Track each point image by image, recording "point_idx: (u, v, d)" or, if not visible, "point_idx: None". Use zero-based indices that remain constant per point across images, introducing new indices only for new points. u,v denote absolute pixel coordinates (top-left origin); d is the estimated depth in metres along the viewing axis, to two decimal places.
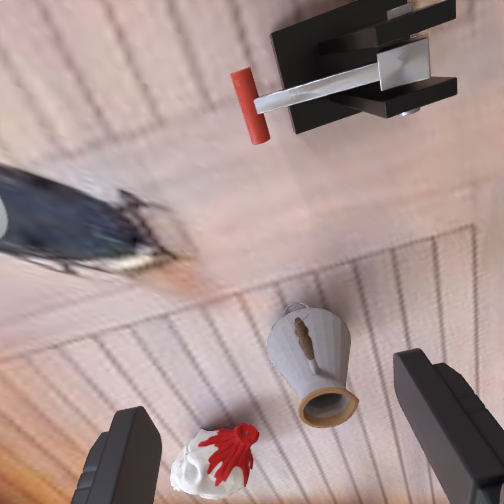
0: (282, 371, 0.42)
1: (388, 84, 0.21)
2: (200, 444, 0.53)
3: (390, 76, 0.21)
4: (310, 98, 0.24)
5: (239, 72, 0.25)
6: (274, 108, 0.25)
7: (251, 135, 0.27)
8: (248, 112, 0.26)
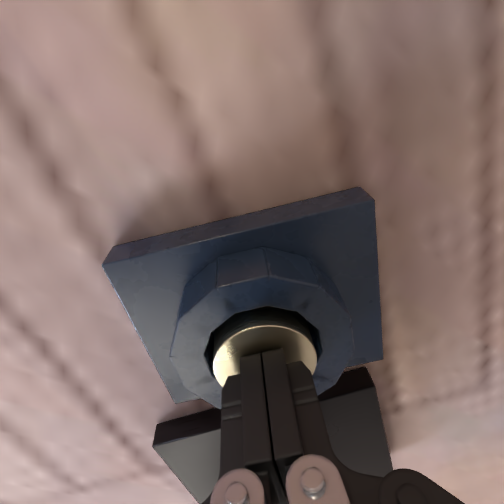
0: None
1: None
2: None
3: None
4: None
5: None
6: None
7: None
8: None
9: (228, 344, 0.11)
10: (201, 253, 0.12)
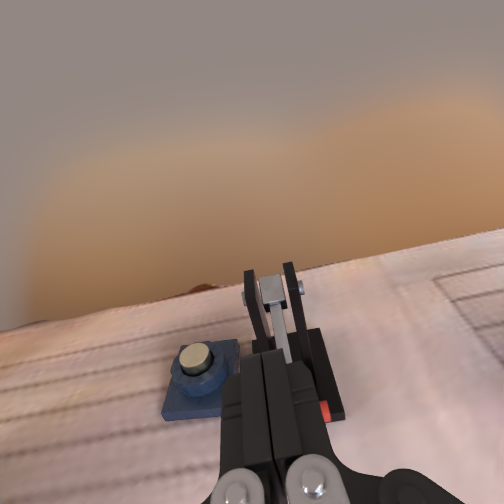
0: None
1: (281, 295, 0.32)
2: None
3: (276, 294, 0.32)
4: (289, 353, 0.30)
5: None
6: None
7: None
8: None
9: (181, 362, 0.39)
10: (172, 385, 0.41)
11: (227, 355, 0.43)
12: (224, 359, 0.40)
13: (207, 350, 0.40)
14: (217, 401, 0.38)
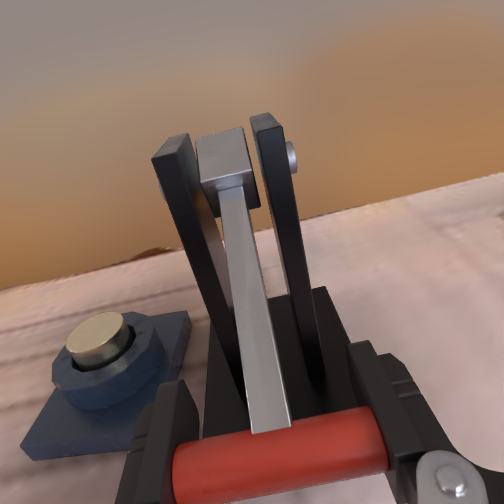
0: None
1: (243, 162, 0.14)
2: None
3: (232, 162, 0.14)
4: (260, 285, 0.11)
5: (174, 464, 0.09)
6: (277, 371, 0.10)
7: (355, 458, 0.08)
8: (281, 451, 0.08)
9: (67, 344, 0.21)
10: (59, 390, 0.22)
11: (166, 336, 0.24)
12: (153, 339, 0.22)
13: (120, 322, 0.21)
14: (130, 418, 0.19)
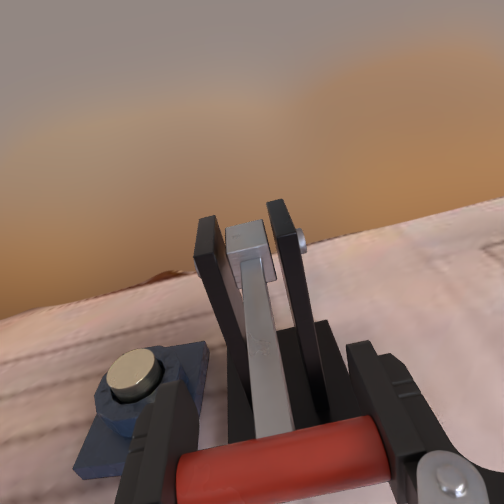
0: None
1: (261, 239, 0.17)
2: None
3: (253, 239, 0.17)
4: (270, 323, 0.13)
5: (180, 462, 0.09)
6: (282, 386, 0.11)
7: (353, 453, 0.08)
8: (281, 448, 0.09)
9: (108, 380, 0.24)
10: (100, 417, 0.26)
11: (188, 366, 0.28)
12: (180, 373, 0.25)
13: (152, 360, 0.25)
14: None
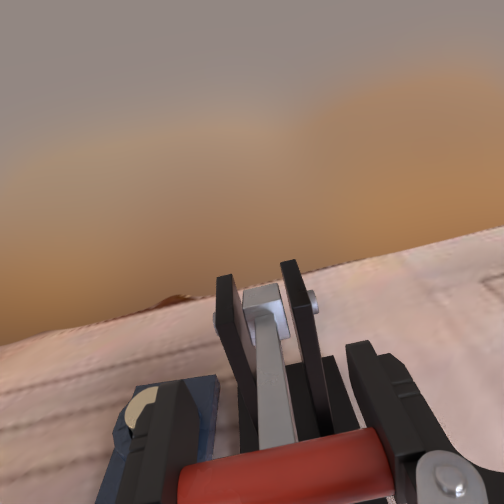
0: None
1: (275, 296, 0.19)
2: None
3: (267, 297, 0.19)
4: (280, 360, 0.14)
5: (183, 468, 0.09)
6: (287, 408, 0.11)
7: (353, 455, 0.08)
8: (283, 452, 0.09)
9: (127, 420, 0.25)
10: (117, 453, 0.27)
11: (201, 401, 0.29)
12: None
13: None
14: None
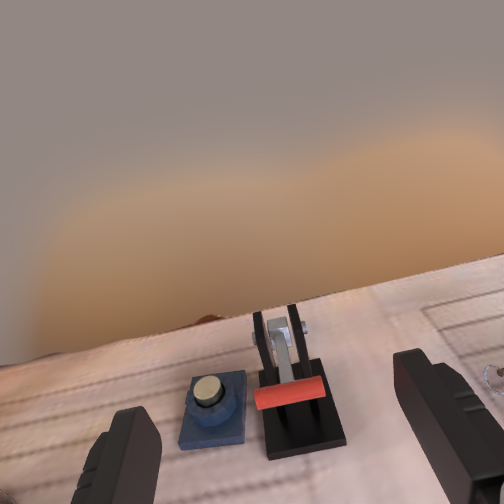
0: None
1: (284, 324, 0.36)
2: None
3: (280, 324, 0.36)
4: (287, 355, 0.31)
5: (255, 389, 0.27)
6: (290, 371, 0.29)
7: (312, 382, 0.26)
8: (289, 383, 0.27)
9: (195, 394, 0.43)
10: (187, 416, 0.44)
11: (236, 386, 0.47)
12: (234, 390, 0.44)
13: (219, 383, 0.44)
14: (229, 430, 0.41)
